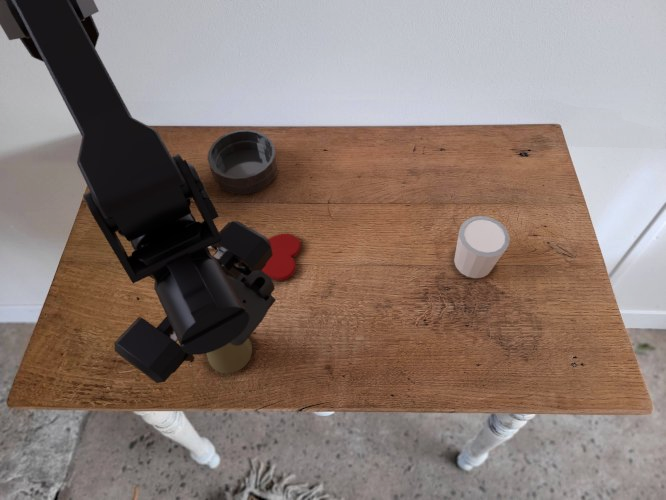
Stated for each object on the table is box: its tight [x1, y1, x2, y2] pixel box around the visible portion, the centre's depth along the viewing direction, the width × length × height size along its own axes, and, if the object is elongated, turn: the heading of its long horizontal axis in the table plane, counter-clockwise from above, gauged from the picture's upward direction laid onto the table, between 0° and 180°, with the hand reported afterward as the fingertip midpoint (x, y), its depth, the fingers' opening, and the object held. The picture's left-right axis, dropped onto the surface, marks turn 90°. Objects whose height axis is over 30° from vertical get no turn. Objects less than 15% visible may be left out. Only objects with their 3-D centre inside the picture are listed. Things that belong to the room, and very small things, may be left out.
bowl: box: [206, 129, 279, 195], centre depth 81 cm, size 11×11×4 cm
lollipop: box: [208, 233, 302, 281], centre depth 73 cm, size 8×1×15 cm
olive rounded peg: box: [205, 338, 253, 375], centre depth 61 cm, size 6×6×11 cm
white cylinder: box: [453, 215, 511, 279], centre depth 69 cm, size 7×7×7 cm
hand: (216, 327), depth 59 cm, fingers open, 9 cm apart
